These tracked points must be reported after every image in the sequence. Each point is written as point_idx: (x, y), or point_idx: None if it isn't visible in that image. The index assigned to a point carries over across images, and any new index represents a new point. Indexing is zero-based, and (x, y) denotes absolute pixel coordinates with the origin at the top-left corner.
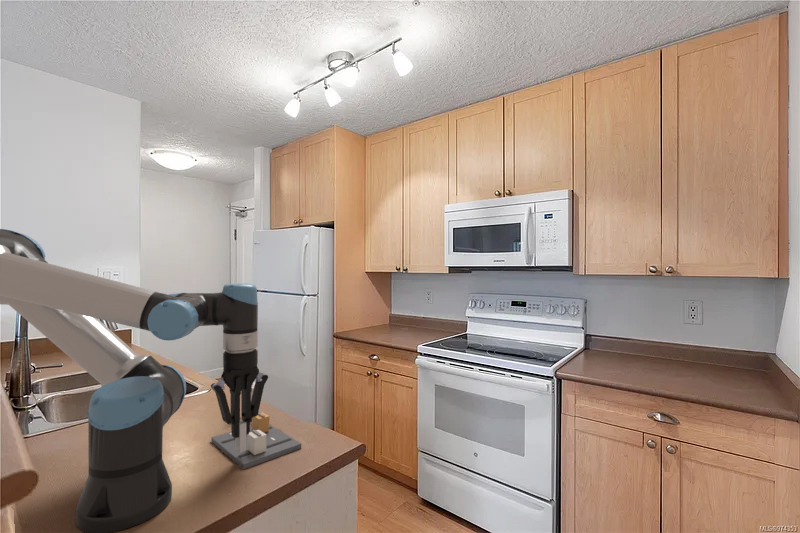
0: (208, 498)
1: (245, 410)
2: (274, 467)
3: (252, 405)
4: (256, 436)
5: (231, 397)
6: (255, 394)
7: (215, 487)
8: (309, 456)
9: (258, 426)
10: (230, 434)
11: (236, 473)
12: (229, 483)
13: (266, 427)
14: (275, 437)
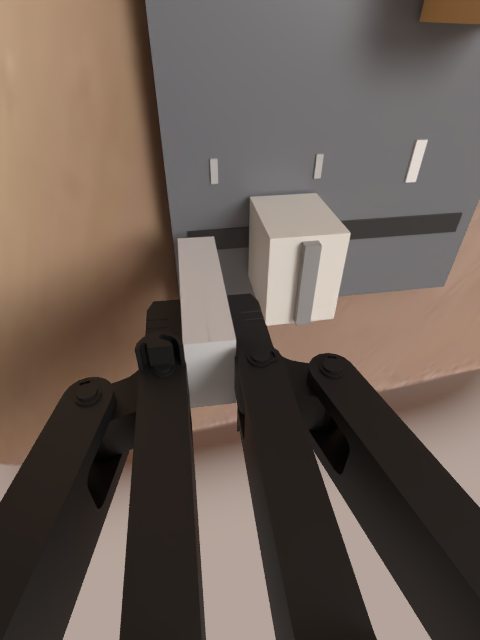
0: (28, 389)
1: (248, 478)
2: (274, 340)
3: (356, 425)
4: (284, 311)
5: (126, 637)
6: (416, 572)
7: (56, 349)
8: (397, 338)
9: (454, 16)
10: None
11: (147, 307)
12: (107, 351)
13: None
14: (438, 148)
